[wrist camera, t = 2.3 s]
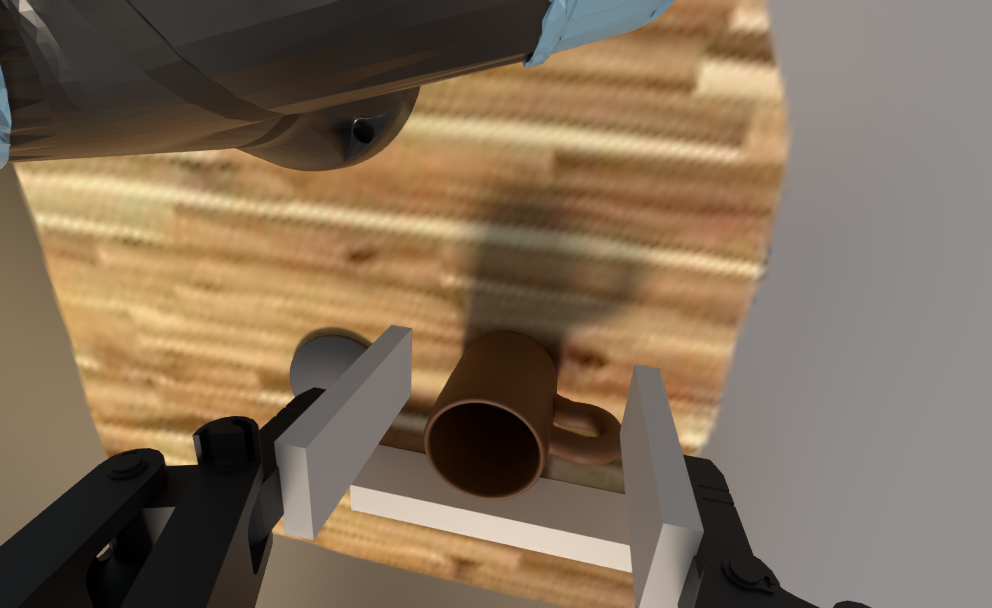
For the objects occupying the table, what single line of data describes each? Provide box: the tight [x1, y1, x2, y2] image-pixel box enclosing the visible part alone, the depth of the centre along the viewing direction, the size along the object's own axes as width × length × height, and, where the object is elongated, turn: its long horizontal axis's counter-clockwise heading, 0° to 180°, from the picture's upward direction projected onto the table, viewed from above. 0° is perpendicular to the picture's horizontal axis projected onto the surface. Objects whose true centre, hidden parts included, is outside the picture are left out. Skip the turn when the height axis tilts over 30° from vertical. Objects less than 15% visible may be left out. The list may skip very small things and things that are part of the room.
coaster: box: [290, 335, 368, 397], centre depth 39 cm, size 9×9×1 cm
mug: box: [424, 332, 621, 500], centre depth 31 cm, size 12×8×9 cm, turn 92°
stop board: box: [350, 445, 632, 573], centre depth 37 cm, size 2×22×5 cm, turn 86°
